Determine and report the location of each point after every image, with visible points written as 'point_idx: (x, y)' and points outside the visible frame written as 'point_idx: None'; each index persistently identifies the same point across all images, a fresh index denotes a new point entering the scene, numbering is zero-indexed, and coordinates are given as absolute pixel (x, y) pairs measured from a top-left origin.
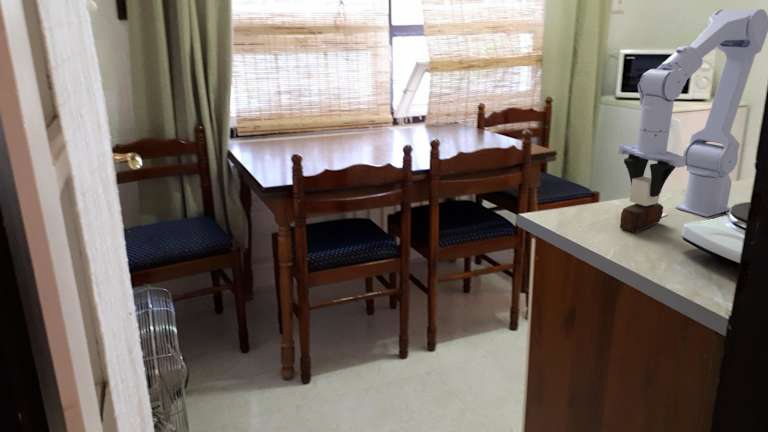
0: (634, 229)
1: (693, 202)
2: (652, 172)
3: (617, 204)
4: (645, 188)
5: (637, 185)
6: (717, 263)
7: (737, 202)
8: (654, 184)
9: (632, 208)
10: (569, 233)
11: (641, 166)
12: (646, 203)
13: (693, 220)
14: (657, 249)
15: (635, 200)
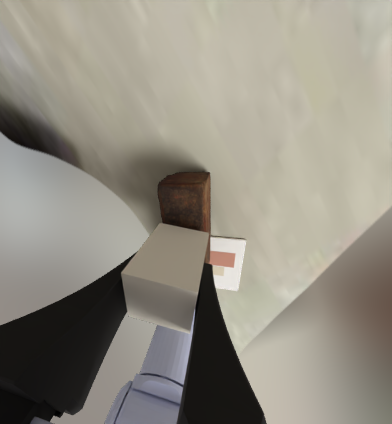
0: (175, 173)
1: None
2: (66, 320)
3: (282, 288)
4: (144, 257)
5: (175, 266)
6: (27, 146)
7: None
8: (107, 273)
9: (185, 204)
10: (299, 4)
11: (185, 379)
12: (156, 228)
13: None
14: (100, 123)
15: (189, 233)
